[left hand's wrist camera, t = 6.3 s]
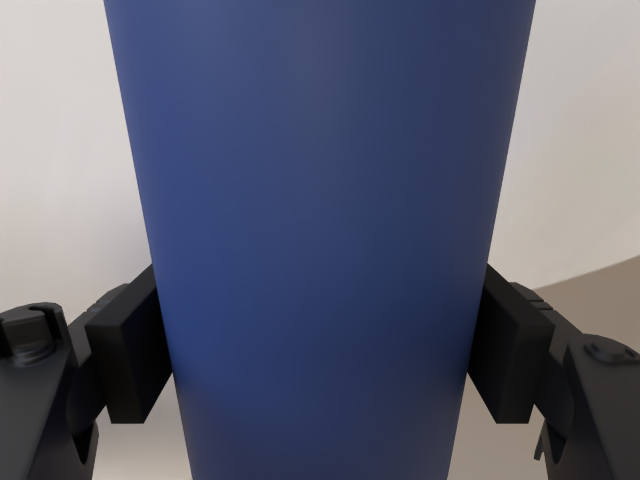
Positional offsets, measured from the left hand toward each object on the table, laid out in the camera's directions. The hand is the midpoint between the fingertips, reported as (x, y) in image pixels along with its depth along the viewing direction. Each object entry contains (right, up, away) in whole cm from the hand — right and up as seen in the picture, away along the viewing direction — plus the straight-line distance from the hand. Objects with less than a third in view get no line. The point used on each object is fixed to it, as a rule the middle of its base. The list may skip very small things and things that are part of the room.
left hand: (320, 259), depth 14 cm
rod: (0, +8, -2) cm, 8 cm away
